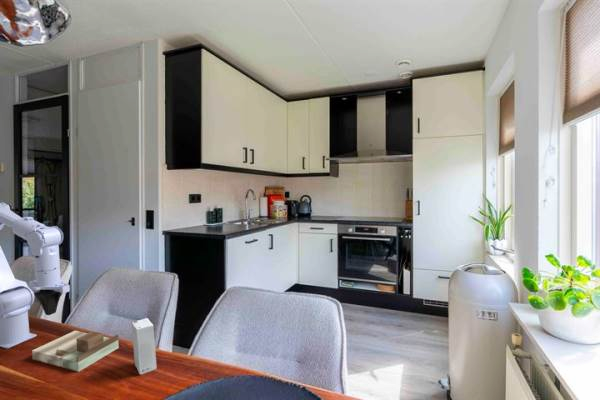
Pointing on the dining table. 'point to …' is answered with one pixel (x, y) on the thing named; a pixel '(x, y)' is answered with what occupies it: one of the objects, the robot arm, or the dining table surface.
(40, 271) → the robot arm
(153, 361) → the skincare box
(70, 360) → the box
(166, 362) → the dining table surface
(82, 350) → the walnut block
